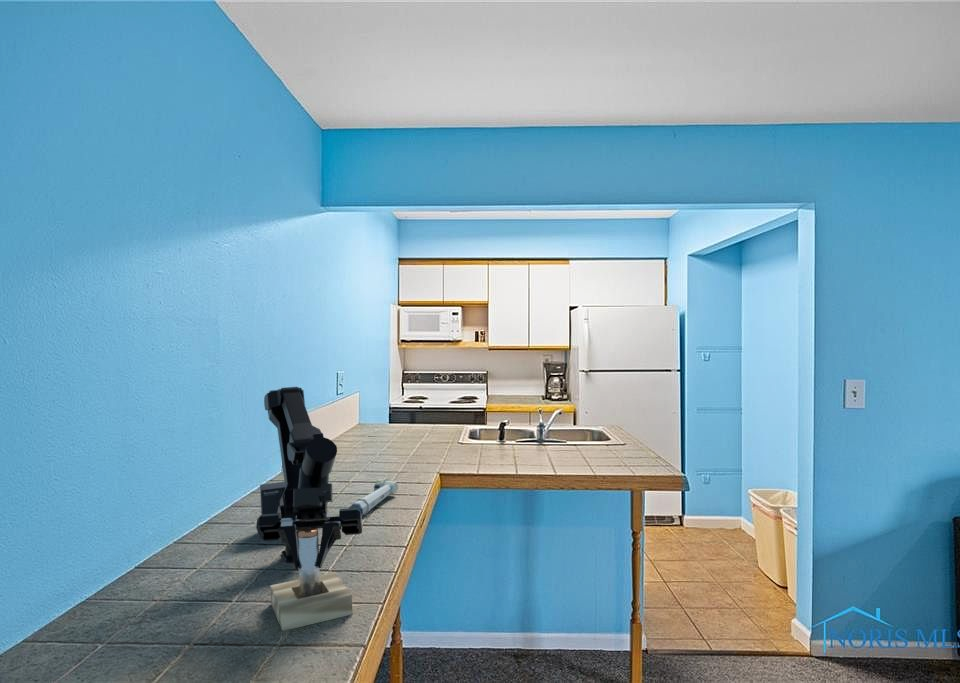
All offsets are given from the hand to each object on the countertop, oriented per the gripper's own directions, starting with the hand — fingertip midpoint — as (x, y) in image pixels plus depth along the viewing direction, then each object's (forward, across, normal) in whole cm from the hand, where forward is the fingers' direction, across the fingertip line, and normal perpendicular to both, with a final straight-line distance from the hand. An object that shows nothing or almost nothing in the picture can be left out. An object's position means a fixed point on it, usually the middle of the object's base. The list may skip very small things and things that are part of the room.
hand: (308, 568), depth 113 cm
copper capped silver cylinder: (+4, 0, +6) cm, 7 cm away
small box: (-29, -11, +41) cm, 51 cm away
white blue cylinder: (-43, +7, +52) cm, 68 cm away
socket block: (+5, 0, +6) cm, 8 cm away
